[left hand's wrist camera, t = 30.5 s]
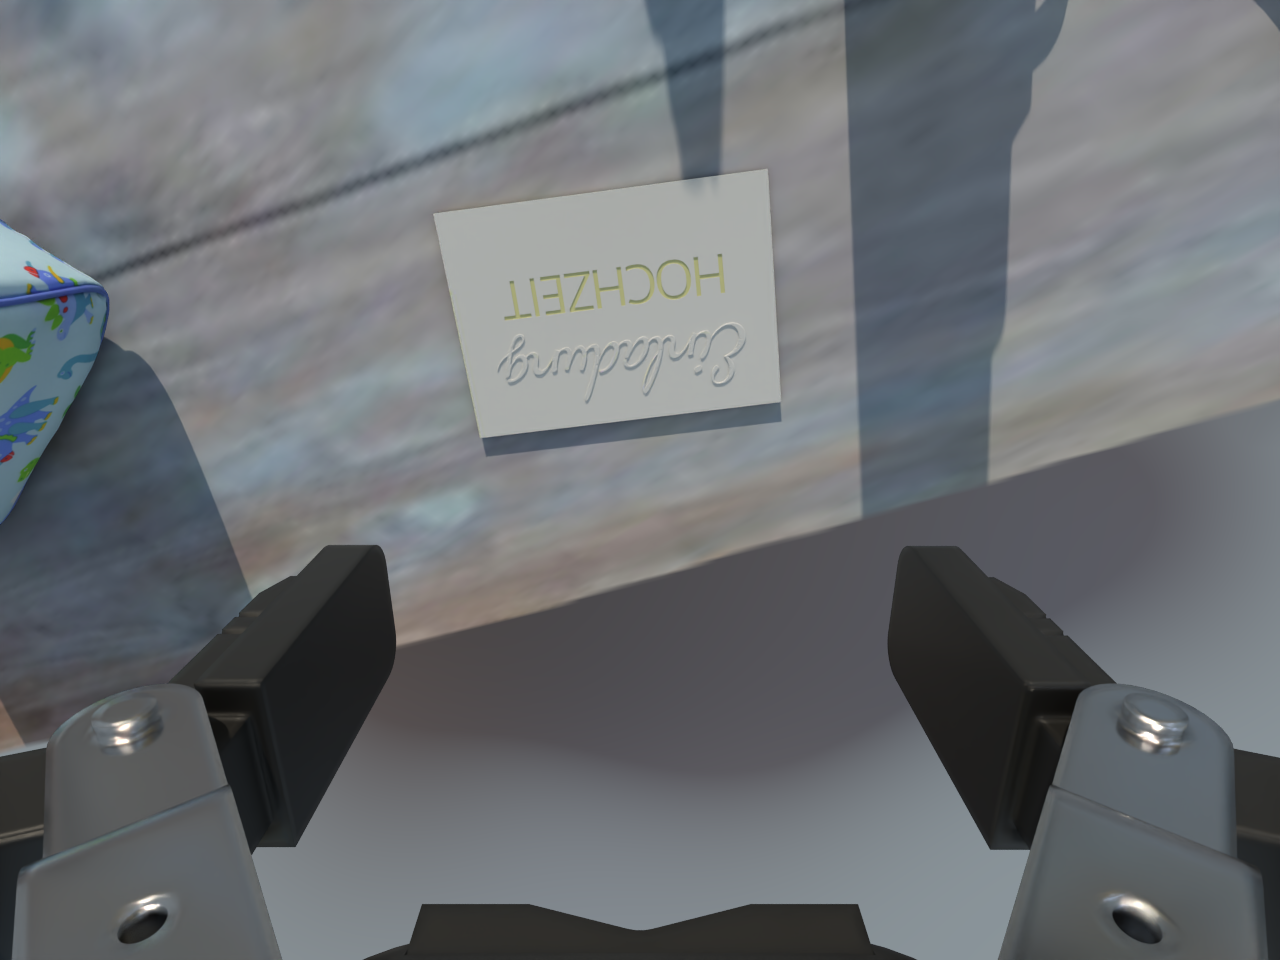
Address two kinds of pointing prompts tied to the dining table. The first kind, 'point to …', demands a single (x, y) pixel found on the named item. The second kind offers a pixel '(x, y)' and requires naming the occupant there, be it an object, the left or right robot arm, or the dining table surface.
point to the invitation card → (615, 303)
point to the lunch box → (40, 352)
